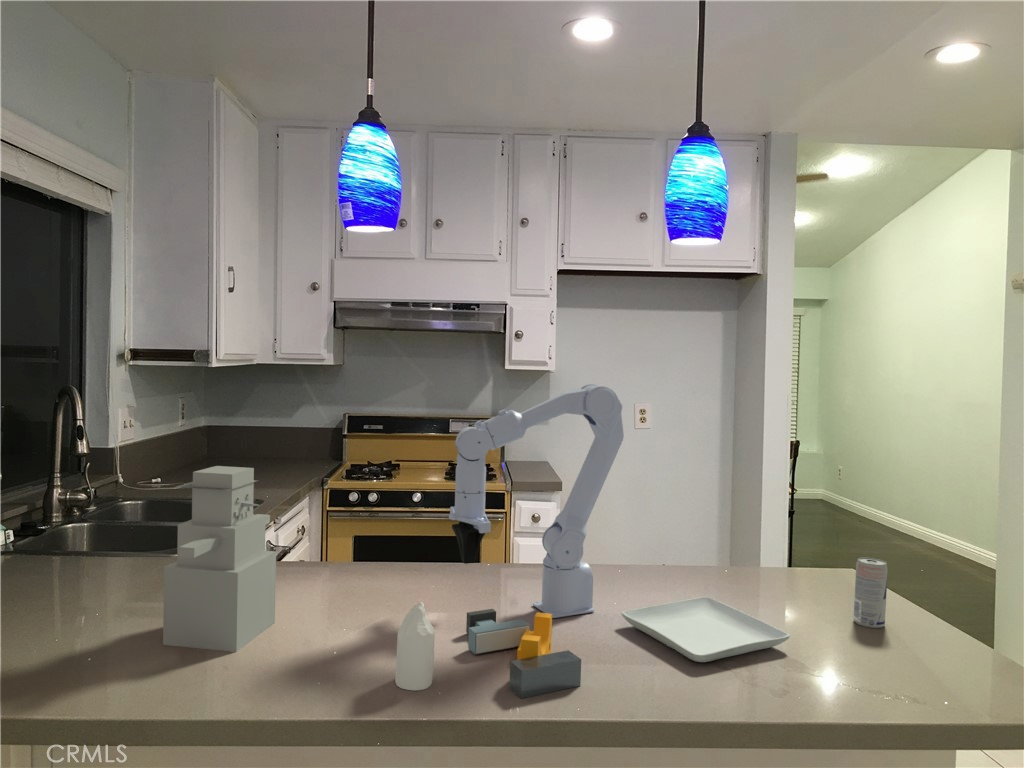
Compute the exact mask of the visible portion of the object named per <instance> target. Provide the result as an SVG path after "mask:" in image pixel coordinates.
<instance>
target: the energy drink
mask: <svg viewBox="0 0 1024 768" xmlns="http://www.w3.org/2000/svg"><path fill="white" fill-rule="evenodd" d="M855 564H856V565H855V580H854V581H855V582H854V583H855V584H854V601H853V602H854V605H853V620H854V622H855V623H856V624H857V625H859V626H862V627H866V628H869V629H881V628H883V627H884V626H885V625H886V610H887V609H886V608H887V591H888V589H887V588H888V573H889V572H888V564H887V562H886V561H885V560H882V559H878V558H874V557H859V558H857V561H856V563H855Z"/></svg>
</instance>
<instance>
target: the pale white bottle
mask: <svg viewBox="0 0 1024 768" xmlns="http://www.w3.org/2000/svg"><path fill="white" fill-rule="evenodd" d="M435 631H436V629H435V627H433V625H432V624H431V622H430V621H429V618H428V617H427V613H426V610H425V605H424V602H422V601H421V602H418V603H417V604H415V605H413V607H412V608H411V609H410V611H408V613H406V614H405V616H404V618H403V620H402V622H401V624H400V626H399V628H398V630H397V639H396V642H397V643H396V658H395V659H396V663H395V666H396V667H395V684H396V686H397V687H398V688H400V689H403V690H407V691H423V690H427V689H428V688H430V687H431V686H432V684H433V673H434V666H435V638H436V636H435V634H436V633H435Z"/></svg>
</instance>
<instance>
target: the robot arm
mask: <svg viewBox="0 0 1024 768" xmlns="http://www.w3.org/2000/svg"><path fill="white" fill-rule="evenodd" d="M622 411H623V404H622V403H621V400H620V399H619V397H618V395H617V393H616V392H615V391H614V390H613V389H612V388H611V387H609V386H605V385H598V384H597V385H596V384H591V383H590V384H585V385H583V386H581V387H577V388H573V389H570V390H567V391H565V392H564V391H563V392H562V393H560V394H558V395H556V396H553V397H550V398H549V399H547V400H545V401H542V402H540V403H539V404H536V405H534V406H532V407H531V408H528V409H526V410H524V411H522V412H518V411H515V410H514V409H509V410H506V409H501V410H499V411H498V414H497V415H496V416H493V417H491V418H489V419H486V420H484V421H482V420H477V421H476V422H475V426H476V427H475V426H467V427H464V428H462V429H461V430H460V431H459V432H458V433H457V435H456V439H455V440H454V445H455V448H456V450H457V451H458V452H457V455H456V464H457V465H456V466H455V482H454V483H455V485H454V486H455V488H454V506H450V507H449V508H450V509H449V511H450V512H449V515H448V519H449V520H451V521H458V523H455V524H451V529H452V531H453V533H454V535H455V537H456V540H457V545H458V549H459V554H460V559H461V562H462V563H463V564H466V565H467V564H475V562H476V558H477V555H478V552H479V549H480V545H481V542H482V540H483V538H484V536H485V534H486V533H487V534H489V533H491V532H492V531H491V529H492V522H491V521H490V520H489V519H488V517H487V513H486V486H487V485H486V484H487V483H486V482H487V481H486V480H487V466H486V456H487V455H488V452H489V450H491V451H495V450H497V449H500V448H502V447H504V446H506V445H509V444H511V443H513V442H516V441H518V440H520V439H522V438H524V435H525V434H526V431H527V430H528V429H529V428H531V427H534V426H536V425H538V424H539V425H540V424H541V423H544V422H547V421H549V420H551V419H554V418H557V417H559V416H562V415H566V414H571V415H579V416H583V417H584V418H585V420H587V421H588V424H589V426H590V428H591V430H592V433H593V435H594V438H593V440H592V443H591V446H590V448H589V450H588V452H587V455H586V457H585V459H584V462H583V463H582V466H581V468H580V470H579V473H578V474H577V478H576V480H575V482H574V484H573V486H572V489H571V491H570V493H569V495H568V498H567V499H566V502H565V505H564V506H563V509H562V510H561V511H560V512H559V513H558V515H557V516H556V517H555V519H554V521H553V522H552V524H551V525H550V526H549V527H547V528H546V530H545V531H543V532H544V533H543V534H542V536H541V537H542V538H541V542H542V548H544V551H545V552H546V554H545V557H543V559H542V579H541V580H542V581H541V584H542V585H541V601H537V602H532V606H534V608H536V609H538V610H540V611H541V612H542V613H549V614H552V619H556V618H557V619H558V618H562V617H563V618H564V617H569V616H575V615H577V616H578V615H583V614H588V613H594V612H595V608H594V607H593V602H594V601H593V596H594V593H593V592H594V575H593V570H592V568H591V566H590V565H589V564H588V563H587V562H586V561H582V559H583V556H584V542H585V539H586V537H587V524H588V520H589V519H590V516H591V513H592V511H593V509H594V507H595V505H596V503H597V500H598V498H599V496H600V493H601V491H602V489H603V486H604V484H605V481H606V480H607V477H608V475H609V473H610V470H611V468H612V465H613V464H614V461H615V459H616V457H617V454H618V452H619V451H620V450H619V449H620V448H621V445H622V442H623V441H624V428H623V425H624V424H623V417H622Z"/></svg>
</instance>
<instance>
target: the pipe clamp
mask: <svg viewBox="0 0 1024 768" xmlns="http://www.w3.org/2000/svg"><path fill="white" fill-rule="evenodd" d="M552 628H553V618H552V614H549V613H544V612H538V611H537V612H535V615H534V624H533V630H530V629H529V630H526V631H525V633H524V635H523V636H522V638H521V642H520V645H519V647H517V651H516V654H517V655H516V660H519V659H525V658H530V657H535V656H541V655H546V654H551V652H552V633H553V632H552V631H553V630H552Z"/></svg>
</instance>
